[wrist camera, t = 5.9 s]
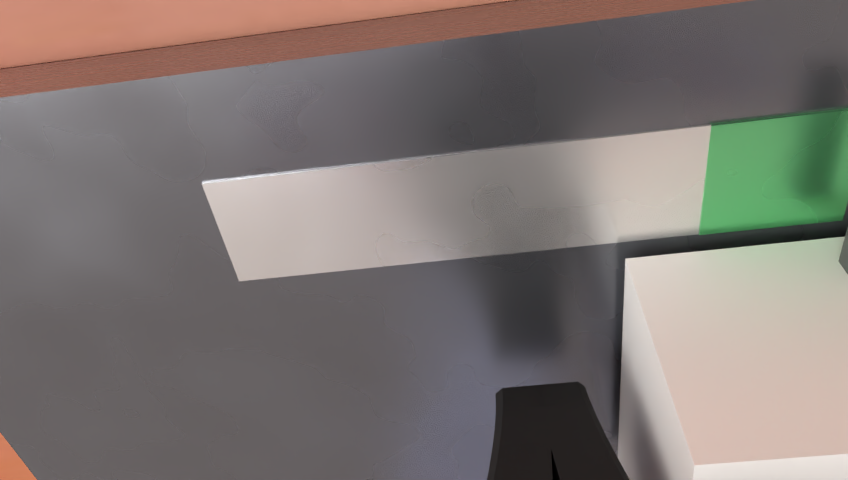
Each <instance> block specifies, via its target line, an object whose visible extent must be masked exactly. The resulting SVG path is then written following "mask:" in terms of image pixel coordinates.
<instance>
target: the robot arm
mask: <svg viewBox="0 0 848 480" xmlns="http://www.w3.org/2000/svg"><path fill="white" fill-rule="evenodd" d="M487 480H630V479H629V477H628V475H627V474H626V472H625V470H624V468H623V467H622V465H621V463H620V461H619V459H618V457H617V456H616V454H615V452H614V450H613V448H612V446H611V444H610V442H609V440H608V438H607V436H606V434H605V432H604V430H603V428H602V426H601V424H600V422H599V420H598V418H597V415H596V413H595V411H594V408H593V406H592V404H591V401H590V399H589V396H588V394H587V391H586V388H585V386H584V385H582V384H581V383H579V382H566V383H555V384H543V385H532V386H520V387H508V388H502V389H501V390H499V391H498V392H497V393H496V416H495V430H494V439H493V447H492V453H491V459H490V466H489V472H488V477H487Z"/></svg>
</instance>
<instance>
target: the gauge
mask: <svg viewBox="0 0 848 480" xmlns="http://www.w3.org/2000/svg"><path fill="white" fill-rule="evenodd" d="M618 459H619V461H620V463H621V465H622V467H623V468H624V470H625V472H626V474H627V475H628V477H629V479H630V480H848V227H847V231H846V235H845V237H835V238H825V239H815V240H805V241H796V242H786V243H776V244H766V245H756V246H746V247H736V248H726V249H716V250H706V251H696V252H686V253H676V254H666V255H656V256H646V257H636V258H626V259H625V280H624V306H623V332H622V358H621V384H620V410H619V435H618Z"/></svg>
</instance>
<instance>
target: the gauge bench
mask: <svg viewBox="0 0 848 480" xmlns="http://www.w3.org/2000/svg"><path fill="white" fill-rule="evenodd" d="M847 227H848V0H518V1H511V2H503V3H496V4H488V5H481V6H473V7H465V8H458V9H450V10H443V11H435V12H428V13H420V14H413V15H405V16H398V17H390V18H383V19H375V20H368V21H360V22H353V23H345V24H338V25H330V26H323V27H315V28H307V29H300V30H292V31H285V32H277V33H270V34H262V35H255V36H247V37H240V38H232V39H225V40H217V41H210V42H202V43H195V44H187V45H180V46H172V47H164V48H157V49H149V50H142V51H134V52H127V53H119V54H112V55H104V56H97V57H89V58H82V59H74V60H67V61H59V62H52V63H44V64H37V65H29V66H22V67H14V68H6V69H0V432H1V434H2V435H3V436H4V438H5V439H6V440H7V441H8V443H9V444H10V445H11V447H12V448H13V449H14V450H15V452H16V453H17V454H18V456H19V457H20V458H21V459H22V461H23V462H24V463H25V465H26V466H27V467H28V468H29V470H30V471H31V472H32V474H33V475H34V476H35V477H36V479H37V480H487V477H488V472H489V466H490V459H491V453H492V447H493V439H494V430H495V416H496V393H497V392H498V391H499V390H501V389H502V388H508V387H520V386H532V385H543V384H555V383H566V382H579V383H581V384H582V385H584V386H585V388H586V391H587V394H588V396H589V399H590V401H591V404H592V406H593V408H594V411H595V413H596V415H597V418H598V420H599V422H600V424H601V426H602V428H603V430H604V432H605V434H606V436H607V438H608V440H609V442H610V444H611V446H612V448H613V450H614V452H615V454H616V456H617V457H618V435H619V410H620V384H621V358H622V332H623V306H624V280H625V259H626V258H636V257H646V256H656V255H666V254H676V253H686V252H696V251H706V250H716V249H726V248H736V247H746V246H756V245H766V244H776V243H786V242H796V241H805V240H815V239H825V238H835V237H845V235H846V231H847Z"/></svg>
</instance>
